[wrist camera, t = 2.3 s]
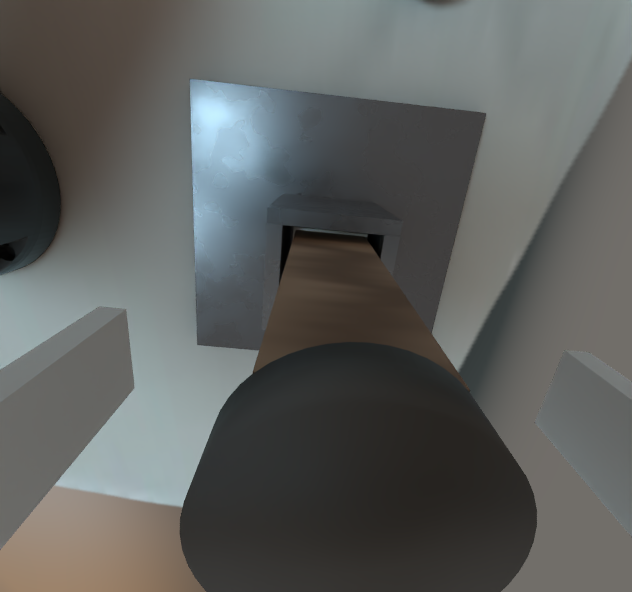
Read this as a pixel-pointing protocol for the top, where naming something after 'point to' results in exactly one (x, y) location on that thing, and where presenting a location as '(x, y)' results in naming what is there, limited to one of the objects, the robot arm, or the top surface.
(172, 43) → the top surface
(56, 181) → the robot arm
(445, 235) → the sleeve stand
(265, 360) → the post
